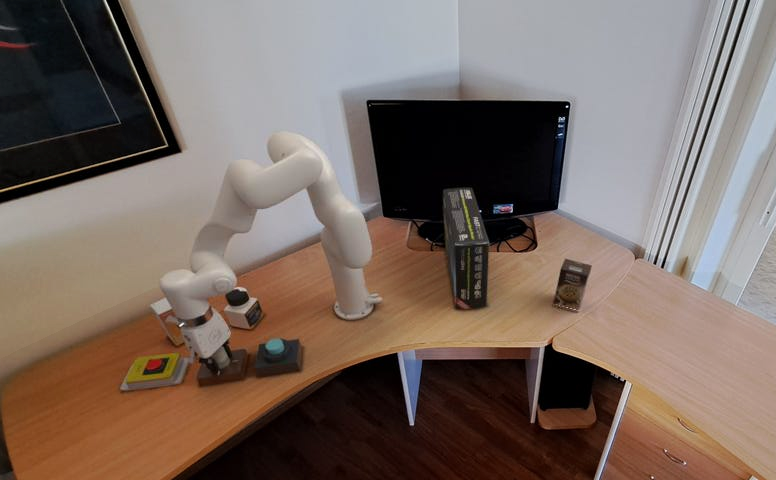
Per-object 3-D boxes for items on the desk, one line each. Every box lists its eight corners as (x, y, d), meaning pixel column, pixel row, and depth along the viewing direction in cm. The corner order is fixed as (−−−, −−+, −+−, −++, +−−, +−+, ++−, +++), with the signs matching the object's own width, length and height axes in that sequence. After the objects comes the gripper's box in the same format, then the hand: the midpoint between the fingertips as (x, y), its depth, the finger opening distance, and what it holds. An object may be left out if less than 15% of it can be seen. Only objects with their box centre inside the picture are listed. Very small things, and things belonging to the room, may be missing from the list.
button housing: (302, 348, 133) (297, 334, 129) (300, 371, 126) (294, 357, 122) (263, 353, 131) (257, 339, 127) (258, 377, 124) (252, 363, 120)
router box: (443, 250, 173) (441, 187, 156) (471, 248, 175) (472, 186, 157) (455, 311, 147) (454, 244, 129) (487, 308, 148) (491, 242, 131)
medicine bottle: (251, 330, 137) (238, 301, 130) (230, 326, 138) (217, 297, 131) (264, 314, 143) (253, 286, 135) (244, 311, 144) (232, 282, 136)
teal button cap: (285, 342, 127) (283, 337, 125) (283, 353, 123) (281, 348, 122) (268, 344, 126) (266, 339, 124) (266, 356, 123) (264, 351, 121)
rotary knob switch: (248, 355, 130) (245, 348, 128) (243, 379, 123) (239, 372, 121) (207, 361, 128) (203, 353, 126) (200, 385, 121) (195, 378, 119)
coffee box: (552, 306, 151) (559, 268, 140) (557, 294, 155) (564, 257, 145) (578, 313, 148) (588, 275, 138) (582, 302, 153) (592, 264, 142)
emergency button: (174, 373, 118) (111, 381, 116) (181, 384, 121) (119, 391, 119) (184, 348, 125) (125, 355, 123) (190, 358, 128) (133, 365, 126)
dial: (231, 356, 125) (224, 343, 122) (228, 367, 122) (221, 355, 119) (214, 358, 125) (207, 345, 121) (211, 370, 121) (203, 357, 118)
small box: (177, 347, 131) (157, 315, 123) (168, 336, 134) (148, 304, 126) (204, 332, 136) (188, 300, 128) (195, 322, 139) (178, 291, 131)
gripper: (181, 341, 104) (210, 389, 116) (231, 296, 117) (252, 344, 129) (155, 334, 106) (186, 382, 118) (207, 291, 118) (230, 338, 130)
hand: (220, 361), depth 123 cm, fingers closed on dial, 4 cm apart
